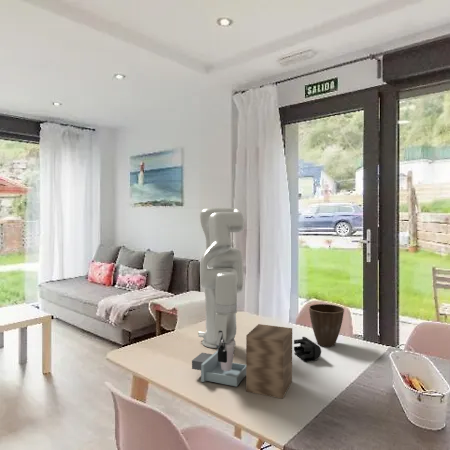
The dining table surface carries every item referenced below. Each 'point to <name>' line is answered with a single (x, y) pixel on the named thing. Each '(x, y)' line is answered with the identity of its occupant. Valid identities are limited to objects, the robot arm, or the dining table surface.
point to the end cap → (307, 350)
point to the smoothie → (228, 355)
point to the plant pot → (326, 323)
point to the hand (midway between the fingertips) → (226, 357)
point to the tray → (218, 370)
